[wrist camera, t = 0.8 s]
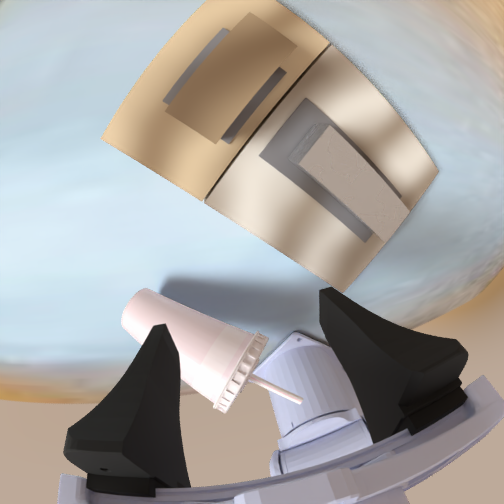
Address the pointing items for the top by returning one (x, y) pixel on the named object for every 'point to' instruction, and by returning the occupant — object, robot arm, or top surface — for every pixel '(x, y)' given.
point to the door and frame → (267, 130)
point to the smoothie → (203, 347)
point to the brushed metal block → (349, 180)
